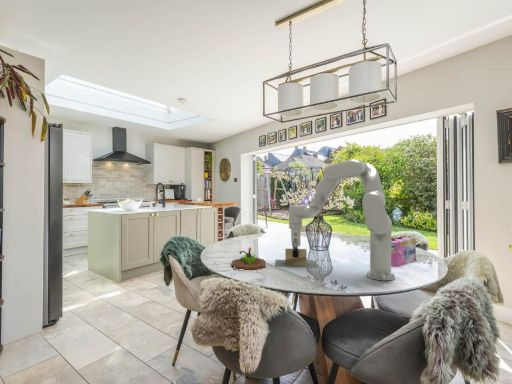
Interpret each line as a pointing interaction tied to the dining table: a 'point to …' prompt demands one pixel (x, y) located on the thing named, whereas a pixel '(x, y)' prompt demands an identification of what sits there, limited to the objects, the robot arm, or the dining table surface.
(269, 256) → the dining table surface
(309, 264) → the mat
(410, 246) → the gum box
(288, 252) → the oak block
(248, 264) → the plant
